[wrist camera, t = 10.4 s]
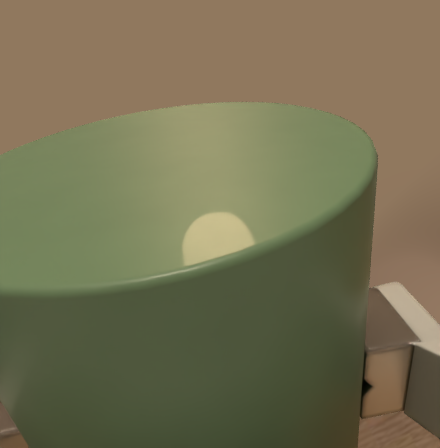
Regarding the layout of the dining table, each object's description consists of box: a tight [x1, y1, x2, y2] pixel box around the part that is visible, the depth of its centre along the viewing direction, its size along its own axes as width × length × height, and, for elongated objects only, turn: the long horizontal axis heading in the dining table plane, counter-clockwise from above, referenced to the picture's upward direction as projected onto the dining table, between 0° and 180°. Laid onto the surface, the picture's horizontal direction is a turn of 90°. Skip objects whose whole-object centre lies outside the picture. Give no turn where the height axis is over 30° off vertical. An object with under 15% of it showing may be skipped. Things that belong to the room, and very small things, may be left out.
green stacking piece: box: [0, 102, 378, 448], centre depth 8 cm, size 6×6×10 cm
